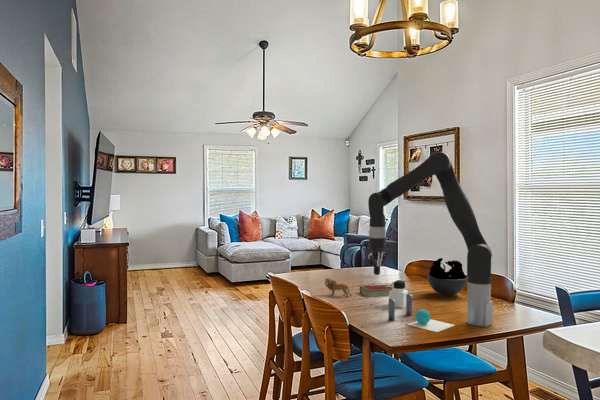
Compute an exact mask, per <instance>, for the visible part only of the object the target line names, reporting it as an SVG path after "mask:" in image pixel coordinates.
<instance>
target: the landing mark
mask: <svg viewBox="0 0 600 400" xmlns="http://www.w3.org/2000/svg"><path fill="white" fill-rule="evenodd" d="M406 325H407V326H411V327H415V328H418V329H422V330H426V331H431V332H434V333H439V332H441V331H445V330H447V329H450V328H453V327H455V326H456V324H452V323H449V322H445V321H439V320H436V319H431V318H430V321H429V322H428V323H427V324H420V323H418V322H417V320H415V321H412V322H409V323H407V324H406Z"/></svg>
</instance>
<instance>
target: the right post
mask: <svg viewBox="0 0 600 400" xmlns="http://www.w3.org/2000/svg"><path fill="white" fill-rule="evenodd" d="M405 315H406V316H410V317H411V316H413V294H410V293H408V294H406V306H405Z"/></svg>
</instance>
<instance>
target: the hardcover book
mask: <svg viewBox="0 0 600 400" xmlns="http://www.w3.org/2000/svg"><path fill="white" fill-rule="evenodd" d="M391 290H393V289H392V283H390V284H389V283H388V284H378V285H377V284H375V285H374V284H372V285H360V286H359V293H361V292H362V293H361V294H363V295H365V296H367V297H369V298H371V297H389V291H391Z"/></svg>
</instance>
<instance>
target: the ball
mask: <svg viewBox="0 0 600 400" xmlns="http://www.w3.org/2000/svg"><path fill="white" fill-rule="evenodd" d="M430 319H431V313H429V311H428V310H426V309H418V310H417V311H416V312H415V321H417V322H418V323H420V324H427V323H428V322H429V321H430Z"/></svg>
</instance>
